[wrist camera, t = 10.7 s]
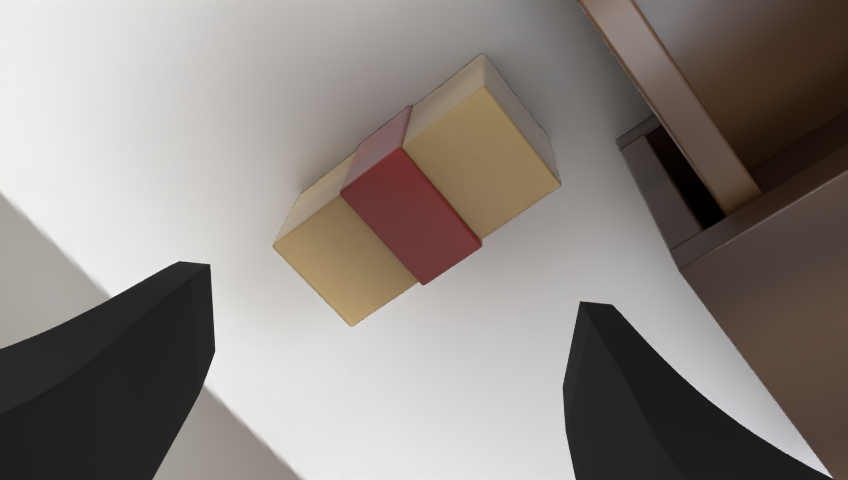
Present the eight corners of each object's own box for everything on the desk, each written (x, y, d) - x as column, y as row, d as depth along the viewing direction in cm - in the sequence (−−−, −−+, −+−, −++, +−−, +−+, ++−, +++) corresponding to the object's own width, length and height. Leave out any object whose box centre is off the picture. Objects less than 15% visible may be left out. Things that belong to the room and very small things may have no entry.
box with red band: (481, 48, 20) (482, 83, 17) (552, 142, 21) (566, 191, 18) (296, 193, 23) (266, 247, 19) (369, 271, 24) (352, 335, 20)
